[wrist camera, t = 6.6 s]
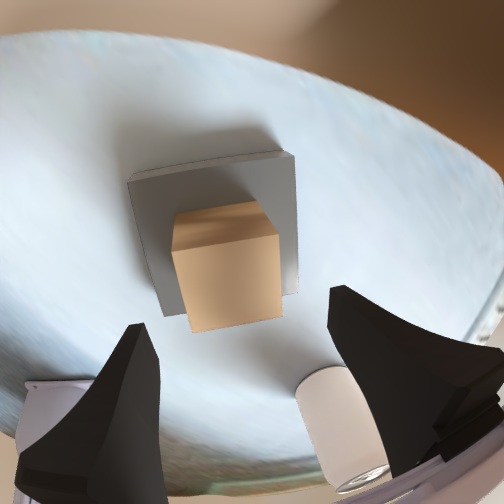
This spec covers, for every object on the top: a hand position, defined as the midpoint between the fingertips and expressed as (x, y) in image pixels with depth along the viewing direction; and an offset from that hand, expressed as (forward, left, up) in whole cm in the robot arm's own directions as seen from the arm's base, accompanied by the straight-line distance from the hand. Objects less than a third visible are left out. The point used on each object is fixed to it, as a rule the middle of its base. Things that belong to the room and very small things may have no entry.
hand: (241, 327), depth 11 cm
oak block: (0, 0, -7) cm, 7 cm away
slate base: (0, 0, -9) cm, 9 cm away
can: (+8, -19, -9) cm, 23 cm away
